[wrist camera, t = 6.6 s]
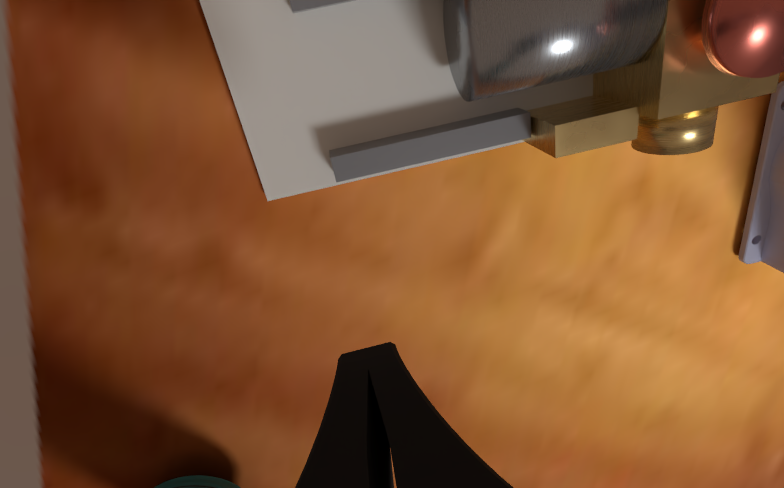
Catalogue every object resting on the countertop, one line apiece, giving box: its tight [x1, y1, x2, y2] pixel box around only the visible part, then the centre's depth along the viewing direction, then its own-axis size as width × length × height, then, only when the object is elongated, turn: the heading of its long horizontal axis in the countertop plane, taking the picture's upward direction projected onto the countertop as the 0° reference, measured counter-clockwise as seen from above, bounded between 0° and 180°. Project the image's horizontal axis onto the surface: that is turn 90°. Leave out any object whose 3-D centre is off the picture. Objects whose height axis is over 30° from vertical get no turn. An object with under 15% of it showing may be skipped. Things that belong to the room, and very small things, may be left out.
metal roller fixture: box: [199, 0, 593, 201], centre depth 17 cm, size 8×19×2 cm, turn 101°
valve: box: [523, 0, 784, 158], centre depth 15 cm, size 10×8×5 cm
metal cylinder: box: [443, 0, 668, 102], centre depth 15 cm, size 4×6×4 cm, turn 101°
